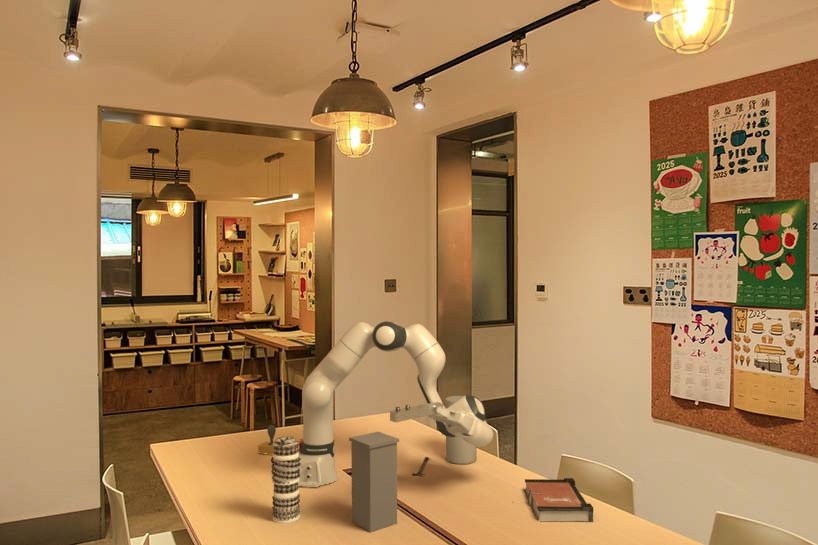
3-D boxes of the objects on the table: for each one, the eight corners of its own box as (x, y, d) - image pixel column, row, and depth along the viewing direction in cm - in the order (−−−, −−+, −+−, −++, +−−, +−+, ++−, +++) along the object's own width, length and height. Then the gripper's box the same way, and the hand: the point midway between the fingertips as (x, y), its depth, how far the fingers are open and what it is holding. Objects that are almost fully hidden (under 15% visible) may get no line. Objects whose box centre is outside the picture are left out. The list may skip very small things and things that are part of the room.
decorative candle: (274, 525, 185) (273, 443, 184) (268, 514, 193) (268, 436, 193) (304, 520, 188) (303, 440, 188) (297, 510, 197) (296, 433, 197)
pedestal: (370, 533, 179) (369, 445, 179) (349, 521, 187) (349, 437, 187) (399, 523, 186) (399, 438, 186) (378, 512, 194) (378, 431, 194)
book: (522, 492, 213) (522, 477, 213) (572, 492, 212) (572, 478, 212) (536, 523, 187) (535, 507, 187) (593, 523, 186) (593, 507, 186)
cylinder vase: (468, 466, 239) (467, 403, 239) (440, 461, 246) (440, 400, 246) (481, 458, 250) (481, 397, 249) (454, 453, 256) (454, 394, 256)
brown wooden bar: (395, 422, 190) (395, 409, 190) (390, 420, 192) (389, 407, 192) (443, 412, 202) (443, 399, 202) (437, 410, 205) (437, 398, 205)
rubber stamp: (285, 452, 260) (285, 424, 259) (277, 456, 254) (277, 427, 254) (265, 450, 263) (265, 422, 263) (257, 453, 258) (257, 425, 258)
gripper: (441, 408, 218) (415, 393, 210) (482, 419, 202) (455, 403, 194) (434, 425, 216) (408, 411, 208) (475, 437, 200) (448, 422, 192)
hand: (431, 407), depth 201 cm, fingers closed on brown wooden bar, 3 cm apart
